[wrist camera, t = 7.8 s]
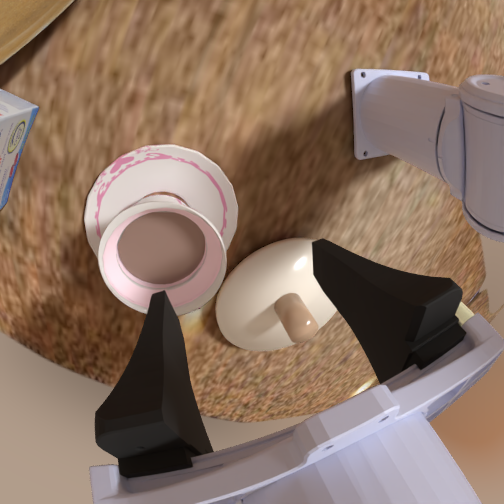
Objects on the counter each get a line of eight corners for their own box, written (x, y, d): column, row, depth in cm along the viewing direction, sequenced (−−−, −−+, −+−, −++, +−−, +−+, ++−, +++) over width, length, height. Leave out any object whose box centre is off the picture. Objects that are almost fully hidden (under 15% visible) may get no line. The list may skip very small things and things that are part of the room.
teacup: (56, 198, 18) (30, 240, 14) (197, 112, 19) (215, 125, 14) (139, 303, 26) (142, 356, 21) (257, 241, 26) (285, 284, 21)
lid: (308, 207, 25) (338, 234, 21) (360, 289, 33) (383, 316, 29) (184, 307, 27) (193, 347, 23) (266, 360, 35) (280, 391, 31)
